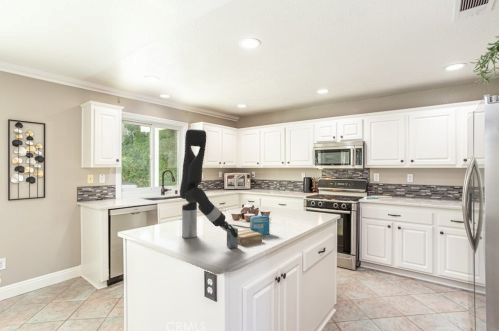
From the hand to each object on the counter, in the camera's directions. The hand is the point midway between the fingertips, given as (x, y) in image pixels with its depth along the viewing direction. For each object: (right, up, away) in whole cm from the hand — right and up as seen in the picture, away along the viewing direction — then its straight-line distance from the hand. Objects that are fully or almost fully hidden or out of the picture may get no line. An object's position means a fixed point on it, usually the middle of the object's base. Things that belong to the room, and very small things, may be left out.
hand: (234, 235), depth 148 cm
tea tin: (-1, -6, -1) cm, 6 cm away
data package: (+15, -7, +27) cm, 32 cm away
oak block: (+6, -7, +12) cm, 15 cm away
